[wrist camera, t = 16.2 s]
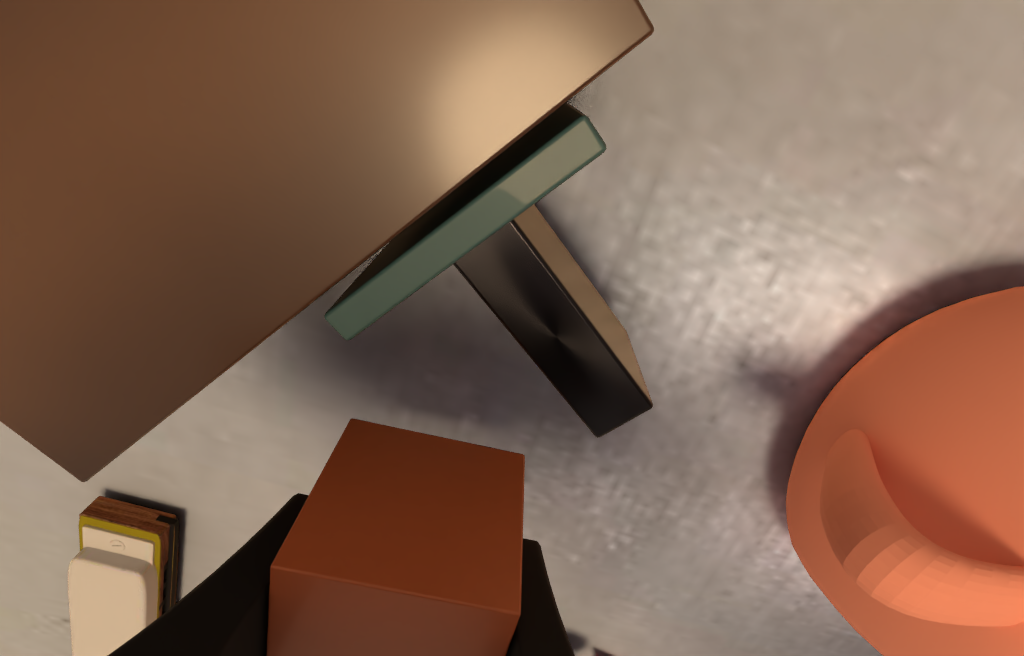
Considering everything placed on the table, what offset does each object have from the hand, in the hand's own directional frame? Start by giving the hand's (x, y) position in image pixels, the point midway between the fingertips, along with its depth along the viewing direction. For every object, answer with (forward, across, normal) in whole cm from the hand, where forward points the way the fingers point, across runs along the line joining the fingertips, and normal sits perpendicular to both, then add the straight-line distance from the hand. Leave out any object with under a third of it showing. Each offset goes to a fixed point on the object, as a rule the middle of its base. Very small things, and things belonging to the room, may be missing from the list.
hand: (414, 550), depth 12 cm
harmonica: (+7, +11, +15) cm, 20 cm away
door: (+6, -2, -6) cm, 8 cm away
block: (+1, 0, 0) cm, 1 cm away
